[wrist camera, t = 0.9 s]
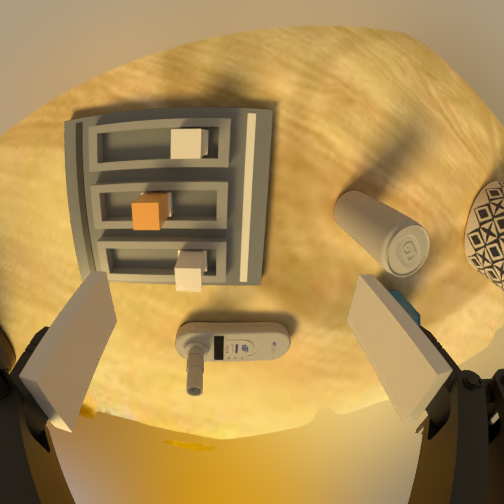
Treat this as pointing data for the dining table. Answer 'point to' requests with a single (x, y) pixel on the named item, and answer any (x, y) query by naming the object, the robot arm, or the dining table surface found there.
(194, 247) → the panel
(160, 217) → the block
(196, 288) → the breaker far
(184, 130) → the block
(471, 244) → the planter
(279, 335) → the electronic device
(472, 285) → the dining table surface
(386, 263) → the beverage can
